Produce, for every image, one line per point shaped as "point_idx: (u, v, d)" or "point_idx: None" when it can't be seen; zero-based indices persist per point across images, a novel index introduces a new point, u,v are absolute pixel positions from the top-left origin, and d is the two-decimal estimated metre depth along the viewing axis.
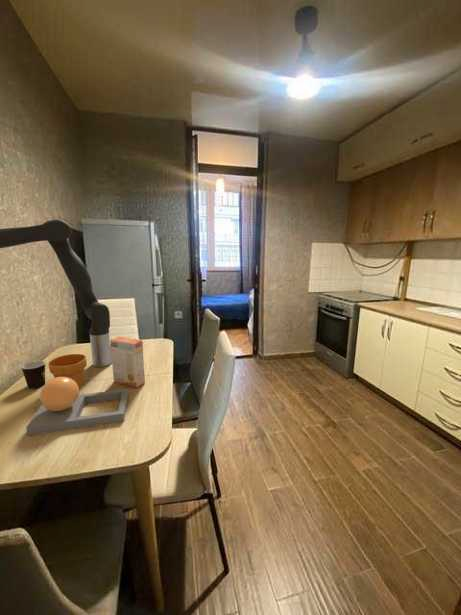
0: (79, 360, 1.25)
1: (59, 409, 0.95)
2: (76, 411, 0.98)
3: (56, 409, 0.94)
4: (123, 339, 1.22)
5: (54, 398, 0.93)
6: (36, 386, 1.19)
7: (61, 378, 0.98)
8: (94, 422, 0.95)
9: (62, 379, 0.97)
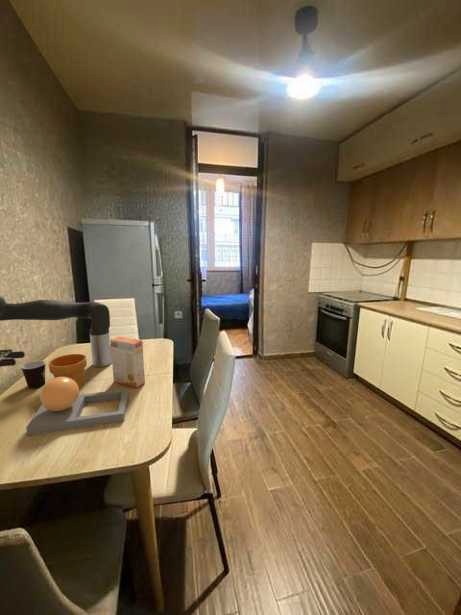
0: (79, 360, 1.25)
1: (59, 409, 0.95)
2: (76, 411, 0.98)
3: (56, 409, 0.94)
4: (123, 339, 1.22)
5: (54, 398, 0.93)
6: (36, 386, 1.19)
7: (61, 378, 0.98)
8: (94, 422, 0.95)
9: (62, 379, 0.97)
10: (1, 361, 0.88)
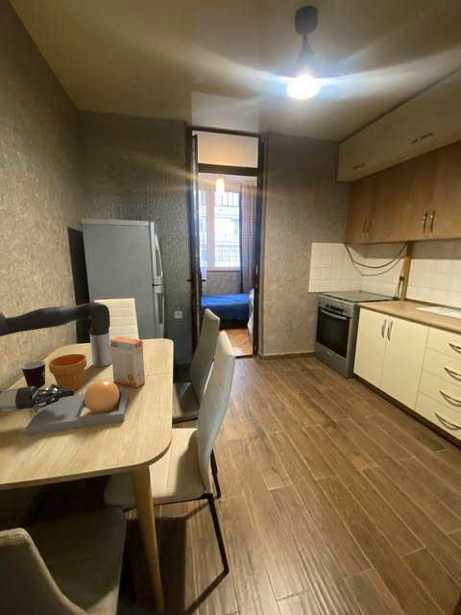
0: (79, 360, 1.25)
1: (90, 398, 0.97)
2: (76, 411, 0.98)
3: (92, 397, 0.97)
4: (123, 339, 1.22)
5: (101, 407, 0.98)
6: (36, 386, 1.19)
7: None
8: (94, 422, 0.95)
9: None
10: (62, 392, 0.98)
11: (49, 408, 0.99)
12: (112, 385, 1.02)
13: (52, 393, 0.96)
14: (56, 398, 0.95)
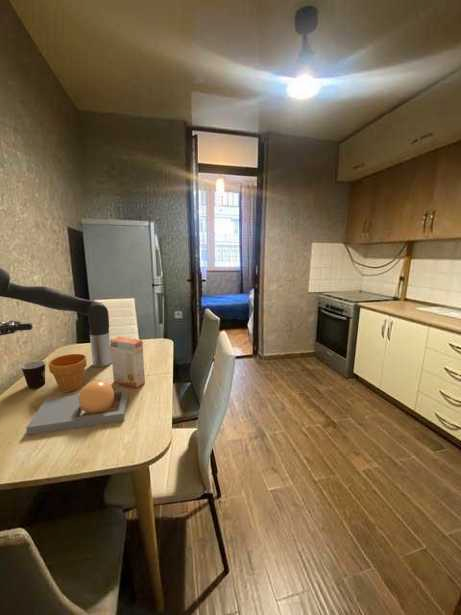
0: (79, 360, 1.25)
1: (83, 401, 0.96)
2: (76, 411, 0.98)
3: (85, 400, 0.96)
4: (123, 339, 1.22)
5: (96, 407, 0.97)
6: (36, 386, 1.19)
7: None
8: (94, 422, 0.95)
9: None
10: (19, 326, 0.99)
11: (49, 408, 0.99)
12: (102, 384, 1.01)
13: (8, 325, 0.98)
14: (12, 329, 0.97)
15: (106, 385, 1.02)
